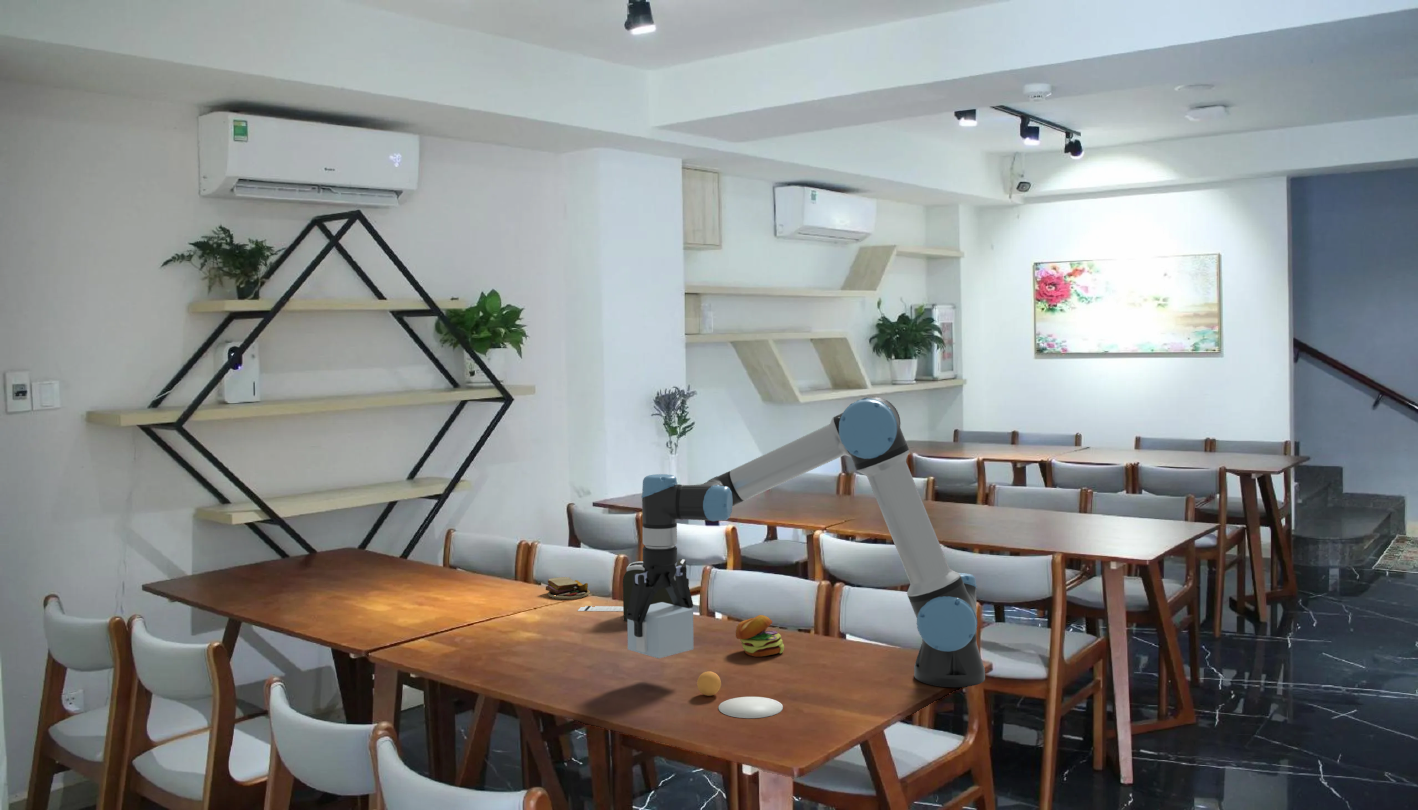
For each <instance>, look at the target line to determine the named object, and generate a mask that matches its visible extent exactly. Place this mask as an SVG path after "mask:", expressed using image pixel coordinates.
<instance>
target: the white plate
mask: <svg viewBox="0 0 1418 810" xmlns="http://www.w3.org/2000/svg"><path fill="white" fill-rule="evenodd" d="M783 708H784V706H783V704H782V703H781V702H779V701H778V700H776V699H772V698H769V697H763V696H740V697H733V698H729V699H727V700H724V701H722V702H721V703H720V704H719V705H718V711H719V712H721V713H722V714H724V715H725V716H729V717H732V718H733V717H734V718H740V719H760V718H768V717H772V716H774V715H777V714H779V713H781V712H782V711H783Z"/></svg>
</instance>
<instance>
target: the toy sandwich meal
mask: <svg viewBox="0 0 1418 810" xmlns="http://www.w3.org/2000/svg"><path fill="white" fill-rule="evenodd" d="M588 587H589V583H588V582H586V583H582V582H580V581H579V580H577V579H575V580H573V579H572V578H571V577H570V576H569V577H568V576H561V577H560V576H559V577H552V578H549V579H548V580H547V585H546V586H545V591H547V595H548V596H549V597H550V598H551V597H552V598H551V599H554V598H555V599H554V600H561V599H569V600H577V598H579V599H581V598H582V597H583V598H586V597H587V596H588V595H589V594H590V593H591V592H590V590H589V589H588ZM554 595H556V596H554ZM585 596H586V597H585Z"/></svg>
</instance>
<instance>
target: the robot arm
mask: <svg viewBox="0 0 1418 810" xmlns="http://www.w3.org/2000/svg"><path fill="white" fill-rule="evenodd" d="M909 454H910V448H909V445H908V444H907V441H906V439H905V436H904V433H903V431H902V429H901V418H900V414H899V412H898V409H897V408H896V406H894V405H893V403H891V402H890V401H888V400H887V399H885V398H883V397H879V396H866V397H864V398H861V399H857V400H856V401H854V402H853V403H850V404H849V405H848V406H847V407H846V408H845V409H844V411H843V412H841V413H840V414H838V415H836V416H835V415H834V416H833V417H832V418H831V421H830V423H829V424H827V425H825V426H823V427H821V428H818V429H816V430H814V431H812V432H810V433H808V434H806V435H803V436H801V437H799V438H796V439H795V440H792V441H790V442H788V443H786V444H783V445H782V446H780V447H778V448H775V449H773V450H772V451H769V452H767V453H765V454H763V455H761V456H758V457H756V458H754V459H752V460H750V461H748V462H746V463H744V464H742V465H739V466H737V467H735V468H733V469H731V470H729V471H727V472H724V473H722V474H720V475H718V476H714V477H712V478H710V479H708V480H707V481H706V482H704V483H701V484H700V485H699V484H689V485H688V484H679V483H678V482H677V481H678V479H677V476H676V475H673V474H666V473H658V474H649V475H646V476H645V477H644V478H643V479H642V490H641V492H642V494H641V508H642V509H641V511H642V512H641V513H642V514H641V515H642V545H644V546H643V548H642V561H643V563H644V565H645V570H644V572H643V573H641V574H636V573H634V574H633V587H632V592H631V596H630V601H629V605H628V610H627V615H626V618H627V619H629V620H633V621H634V635H635V636H636V650H638V651H641V652H644V653H645V652H647V622H645V621H644V619H645V616H646V614H647V612H648V609H649V607H650V604H651V602H652V599H653V597H654V594H656V593H657V591H658V590H659V589H662V588H666V590H667V592H668V594H669V596H670V598H671V600H672V602H673V604H674V605H676V606H680V607H685V608H690V609H693V607H694V603H693V602H694V601H693V598H692V595H691V589H690V584H689V585H688V581H687V577H688V576H687V571H688V569H687V566H686V567H684V566H680V565H677V562H678V547H677V546H676V545H677V544H678V529H677V528H678V527H677V526H678V520H681V521H682V520H689V521H691V520H693V521H708V522H709V521H711V522H717V521H719V522H720V521H728V520H729V519H730V518H731V515H732V512H733V506H736V505H739V504H740V503H741V504H742V503H743V502H744V501H747V500H749V499H751V498H753V497H755V496H757V495H760V494H762V493H764V492H767V491H768V490H770V489H773V488H776V487H778V486H780V485H782V484H784V483H786V482H789V481H790V480H793V479H795V478H798V477H799V476H802V475H803V474H806V473H808V472H811V471H813V470H815V469H817V468H819V467H821V466H824V465H826V464H828V463H830V462H833V461H835V460H837V459H839V458H841V457H843V456H847V457H849V458H851V459H852V462H853V465H854V467H855V470H856V471H857V473H860V474H862V475H864V476H865V477H867V479H868V482H869V485H870V487H871V489H872V491H873V494H874V497H875V500H876V502H877V505H878V507H879V509H880V512H881V514H882V517H883V520H884V522H885V524H886V527H887V529H888V531H889V534H890V536H891V539H892V541H893V543H894V546H895V549H896V551H897V553H898V556H899V558H900V561H901V563H902V566H903V569H904V570H905V571H904V572H905V574H906V576H907V578H908V581H909V583H910V585H909V587H908V589H907V592H906V595H907V598H908V600H909V602H910V605H911V607H912V610H913V613H914V615H915V618H916V629H917V631H918V633H919V635H920V638H921V644H920V647H919V650H918V654H917V656H916V660H915V663H914V665H913V666H914V667H913V669H914V670H913V672H914V673H913V675H914V676H913V677H914V678H915V680H917V681H918V682H920V683H923V684H925V685H930V686H935V687H942V688H965V687H966V688H967V687H974V686H977V685H980V684H982V683H983V682H985V680H986V668H985V665H984V663H983V660H982V656H981V653H980V650H979V646H978V643H977V630H978V628H977V627H978V618H977V590H978V585H977V580H976V577H975V576H974V574H972V573H971V574H970V573H964V572H963V573H962V572H957V571H955V570H953V569H951V568H950V566H949V564H948V561H947V559H946V556H945V554H944V552H943V549H942V546H941V544H940V541H939V539H938V537H937V534H936V531H935V529H934V526H933V524H932V522H931V519H930V517H929V515H928V512H927V510H926V507H925V505H924V502H923V500H922V497H921V495H920V492H919V490H918V488H917V485H916V483H915V480H914V478H913V475H912V473H911V471H910V470H911V469H910V468H909V465H908V463H907V458H908V456H909ZM674 576H675V578H676V582H677V584H676V582H675V580H674ZM686 576H687V577H686ZM645 579H646V580H645ZM677 586H678V588H677ZM649 587H651V588H649ZM678 590H679V591H678ZM639 615H640V616H639Z"/></svg>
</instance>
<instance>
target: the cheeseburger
mask: <svg viewBox="0 0 1418 810" xmlns="http://www.w3.org/2000/svg"><path fill="white" fill-rule="evenodd" d="M772 624H773V620H772V619H770V618H769V617H768V616H766V615H763V614H759V615H756V616H755V617H751V618H748V619H745V620H742V621H740V622H739V623H738V624H737V626H736V629H735V638H736V639H737V640H739V641H740V642H741V645H742V649H744V650H743V651H744V653H745V654H746V655H748V656H751V657H755V658H757V657H758V658H759V657H767V656H771V655H776V654H777V655H778V654H782V653H783V652H784V650H785V644H784V643H783V639H782V635H781V634H780V633H778V630H777V631H776V630H767V629H768V628H769V627H770V626H771V625H772Z"/></svg>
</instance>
